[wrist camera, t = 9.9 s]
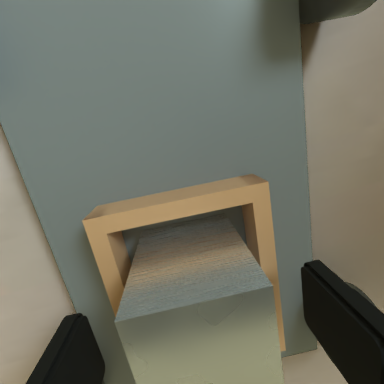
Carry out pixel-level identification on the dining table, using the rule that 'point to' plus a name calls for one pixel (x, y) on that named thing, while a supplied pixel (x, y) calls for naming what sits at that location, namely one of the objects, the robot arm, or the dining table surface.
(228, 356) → the sage green foam block
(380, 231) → the dining table surface
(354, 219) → the dining table surface
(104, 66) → the chassis
